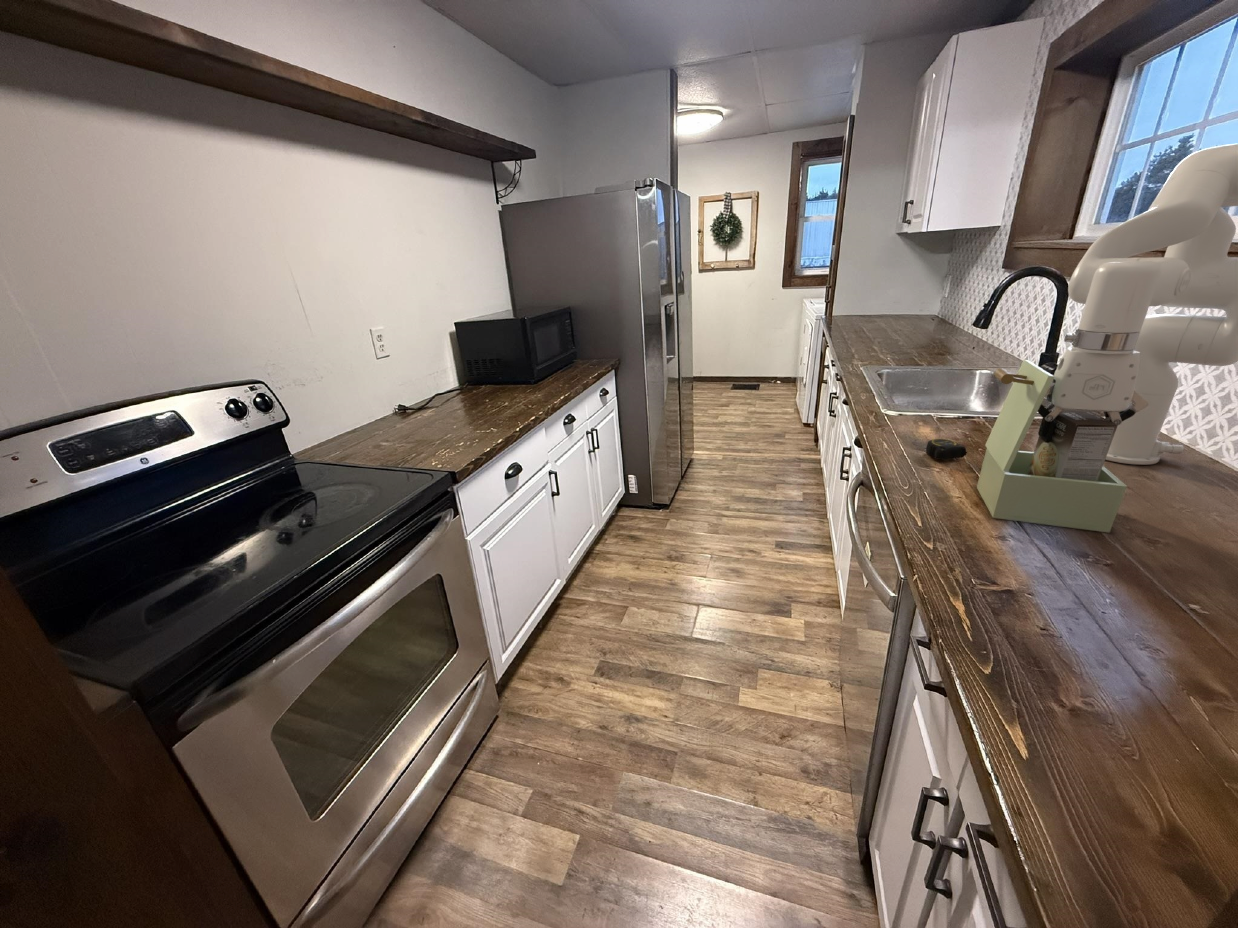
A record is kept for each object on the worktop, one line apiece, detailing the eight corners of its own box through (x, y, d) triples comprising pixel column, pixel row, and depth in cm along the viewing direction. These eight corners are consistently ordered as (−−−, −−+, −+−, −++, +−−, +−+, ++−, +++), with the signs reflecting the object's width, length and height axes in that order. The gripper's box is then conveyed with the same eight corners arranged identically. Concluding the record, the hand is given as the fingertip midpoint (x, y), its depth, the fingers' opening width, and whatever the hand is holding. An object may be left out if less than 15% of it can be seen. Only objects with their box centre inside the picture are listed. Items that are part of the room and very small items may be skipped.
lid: (1028, 360, 92) (994, 354, 94) (1054, 376, 81) (1014, 370, 82) (989, 446, 100) (958, 439, 102) (1008, 472, 88) (972, 464, 90)
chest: (1078, 498, 97) (1092, 456, 94) (1109, 532, 86) (1127, 486, 82) (976, 487, 104) (986, 447, 100) (992, 517, 92) (1004, 474, 89)
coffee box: (1021, 486, 98) (1044, 407, 92) (1059, 487, 96) (1085, 408, 90) (1048, 508, 89) (1076, 423, 83) (1090, 509, 88) (1121, 424, 82)
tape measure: (938, 464, 116) (941, 449, 114) (918, 453, 122) (921, 439, 120) (965, 461, 116) (968, 446, 115) (943, 451, 123) (947, 436, 121)
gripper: (1046, 344, 82) (1018, 444, 89) (1188, 346, 75) (1146, 454, 82) (1032, 337, 88) (1007, 431, 95) (1162, 338, 82) (1125, 440, 89)
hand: (1072, 441), depth 89 cm, fingers closed on coffee box, 7 cm apart
